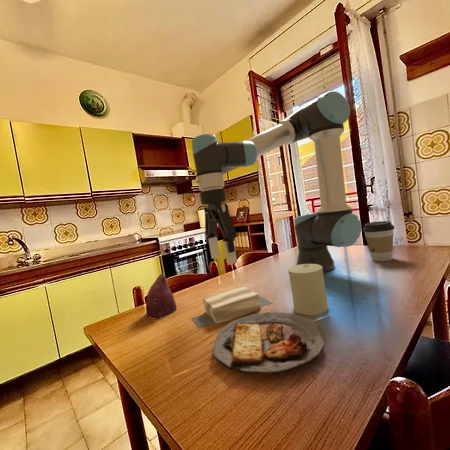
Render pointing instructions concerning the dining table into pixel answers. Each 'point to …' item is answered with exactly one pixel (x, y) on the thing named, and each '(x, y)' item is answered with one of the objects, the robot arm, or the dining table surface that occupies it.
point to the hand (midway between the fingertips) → (223, 260)
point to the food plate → (268, 343)
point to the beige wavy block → (231, 304)
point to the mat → (206, 320)
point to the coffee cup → (380, 240)
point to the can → (308, 289)
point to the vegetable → (160, 299)
